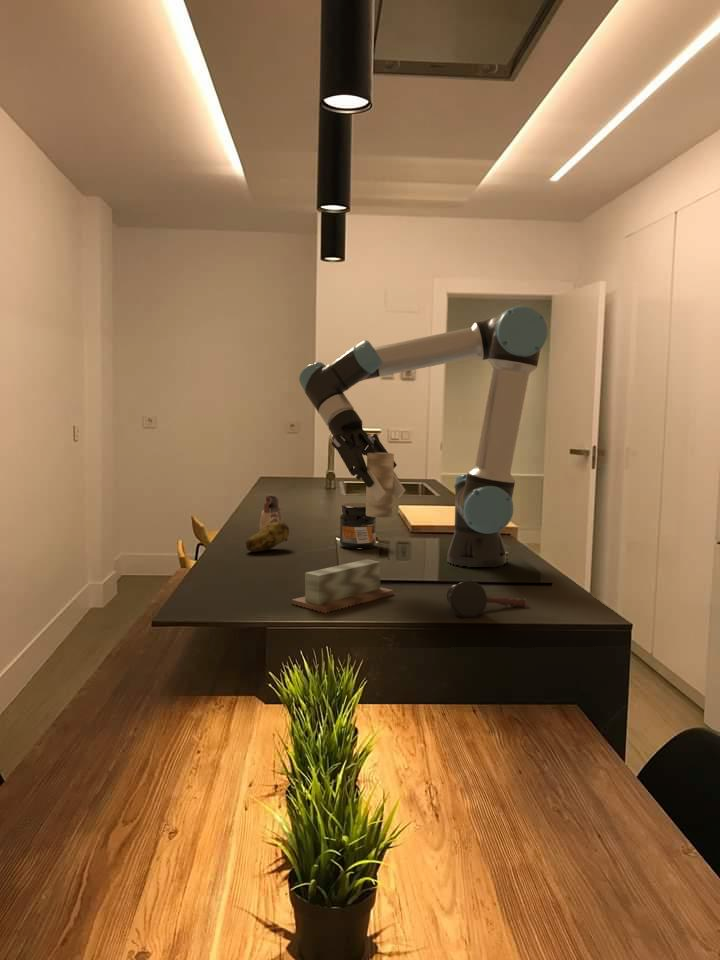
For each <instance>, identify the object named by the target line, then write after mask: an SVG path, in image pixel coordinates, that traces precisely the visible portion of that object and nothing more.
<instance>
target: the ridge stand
mask: <svg viewBox="0 0 720 960" xmlns="http://www.w3.org/2000/svg"><path fill="white" fill-rule="evenodd" d="M304 582H305V583H304V592H305V593H304V596H301V597H297V598H291V599H292V600H291V605H292V604H294V605H293V606H296V605H298V607H300V606H302V608H304V607H305V609H308V608H309V609H308V610H312V609H313V610H312V611H316V610H317V612H320V611H321V612H320V613H323V614H327V612H328V613H331V612H330V611H332V612H335V611H338V609H339V610H342V609H341V608H343V609H346V608H349V607H348V606H350V607H352V605H353V606H356V605H355V604H357V605H360V603H361V604H364V603H368V602H372V601H374V600H379V599H381V598H386V597H390V596H392V595H394V589H391V588H385V587H381V561H376V560H372V559H361V560H357V561H354V562H353V561H351V562H348V563H343V564H339V565H334V566H330V567H326V568H321V569H316V570H311V571H306V572H304ZM345 607H346V608H345ZM334 610H335V611H334Z"/></svg>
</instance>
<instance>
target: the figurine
mask: <svg viewBox="0 0 720 960" xmlns="http://www.w3.org/2000/svg"><path fill="white" fill-rule="evenodd" d="M264 497H265V502H264V506H263V509H262V511H261V514H260V520H259V525H258V526H259V527H258V528H259V531H260V530H261V529H263V528H264V527H265V526H266V525H268V524H269V523H271V522H275V521H280V522H282V516H281V513H280V511H281V508H280V507H279V498H278V497H277V496H275V494H266V495H265V496H264Z"/></svg>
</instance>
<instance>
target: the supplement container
mask: <svg viewBox="0 0 720 960" xmlns="http://www.w3.org/2000/svg"><path fill="white" fill-rule="evenodd" d="M340 512H341V514H340V516H339V517H338V519H339V541H338V542H339V543H338V544H339V545H340V546H341V547H342V548H343V547H346V548H345V549H347V548H356V549H355V550H358V549H357V548H369V549H372V548H374V547H376V544H377V539H376V537H377V536H376V535H377V534H376V533H377V531H376V529H377V526H376V525H377V517H370V516H366V502H349V503H342V504H341V506H340ZM371 547H372V548H371Z"/></svg>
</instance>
